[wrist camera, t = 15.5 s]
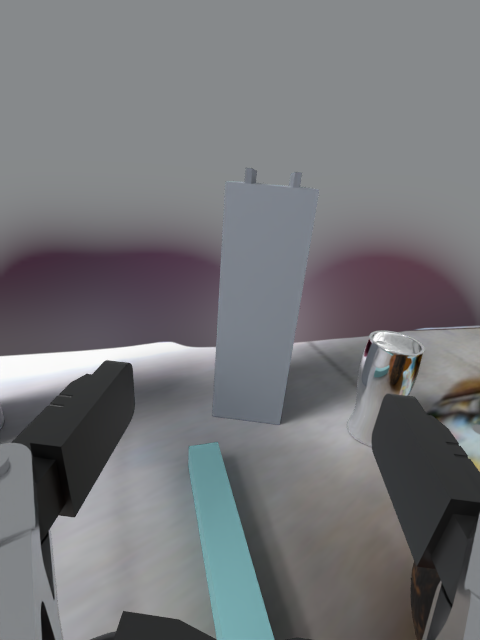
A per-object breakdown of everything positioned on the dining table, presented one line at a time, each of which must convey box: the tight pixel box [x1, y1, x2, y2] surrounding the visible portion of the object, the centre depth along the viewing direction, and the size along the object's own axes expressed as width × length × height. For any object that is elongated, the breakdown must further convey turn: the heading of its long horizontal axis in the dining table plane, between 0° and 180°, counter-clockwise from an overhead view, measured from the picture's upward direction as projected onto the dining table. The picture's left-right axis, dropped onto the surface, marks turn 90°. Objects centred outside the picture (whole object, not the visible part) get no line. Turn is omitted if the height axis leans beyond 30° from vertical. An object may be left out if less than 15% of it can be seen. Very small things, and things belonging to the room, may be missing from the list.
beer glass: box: [347, 331, 425, 447], centre depth 44 cm, size 7×7×15 cm
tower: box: [212, 168, 319, 425], centre depth 45 cm, size 10×10×34 cm
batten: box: [188, 442, 274, 640], centre depth 28 cm, size 4×24×4 cm, turn 16°
